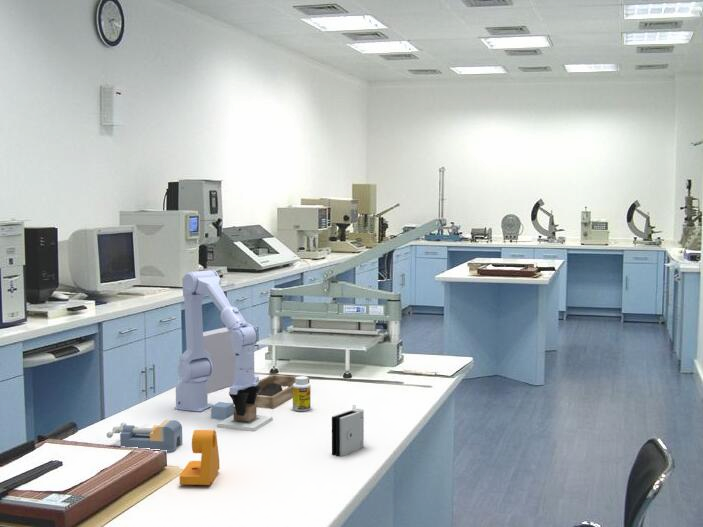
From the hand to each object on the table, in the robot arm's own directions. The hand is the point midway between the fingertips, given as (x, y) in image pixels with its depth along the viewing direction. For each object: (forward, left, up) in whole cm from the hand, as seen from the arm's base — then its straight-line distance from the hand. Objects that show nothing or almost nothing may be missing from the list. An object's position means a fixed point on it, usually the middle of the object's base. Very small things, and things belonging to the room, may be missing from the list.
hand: (245, 412), depth 237 cm
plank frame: (-6, +31, -3) cm, 32 cm away
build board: (0, 0, -3) cm, 3 cm away
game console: (-29, +38, -3) cm, 48 cm away
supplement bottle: (+10, +19, -3) cm, 22 cm away
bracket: (+12, -45, -3) cm, 46 cm away
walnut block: (0, 0, -2) cm, 2 cm away
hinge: (+37, -11, -3) cm, 38 cm away
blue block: (-9, +3, -3) cm, 11 cm away
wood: (-7, +32, -4) cm, 33 cm away
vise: (-15, -28, -4) cm, 32 cm away
